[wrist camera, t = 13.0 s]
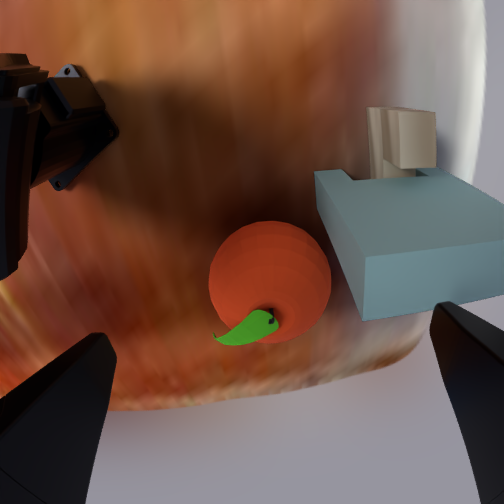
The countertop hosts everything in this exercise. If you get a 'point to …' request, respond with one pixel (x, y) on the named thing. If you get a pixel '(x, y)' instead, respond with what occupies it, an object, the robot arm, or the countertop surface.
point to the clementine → (269, 283)
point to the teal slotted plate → (413, 240)
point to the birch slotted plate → (400, 141)
